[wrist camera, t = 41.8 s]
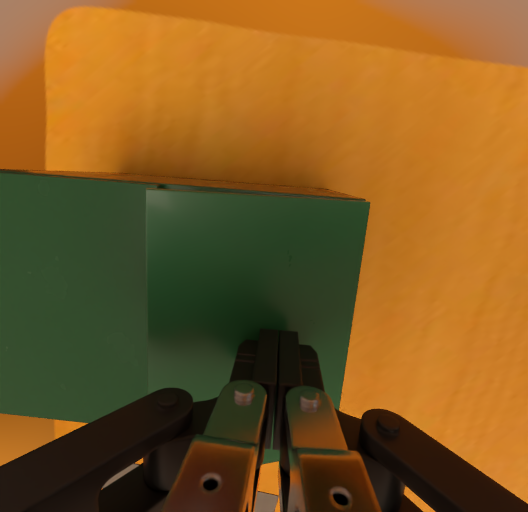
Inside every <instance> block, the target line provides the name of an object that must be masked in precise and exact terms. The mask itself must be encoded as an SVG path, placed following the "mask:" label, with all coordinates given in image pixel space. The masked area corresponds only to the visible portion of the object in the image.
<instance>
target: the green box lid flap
mask: <svg viewBox="0 0 528 512" xmlns="http://www.w3.org/2000/svg"><path fill="white" fill-rule="evenodd" d="M369 209H370V202H368V201H355V200H339V199H322V198H305V197H289V196H272V195H255V194H239V193H222V192H205V191H189V190H172V189H155V188H146V189H145V223H146V304H147V386H148V394H150V393H152V392H155V391H157V390H160V389H163V388H180V389H183V390H186V391H187V392H189V393H190V394H191V396H192V398H193V402H198V401H205V400H210V399H213V398H216V397H218V396H219V394H220V392H221V390H222V388H223V387H224V386H225V385H226V384H228V383H229V381H230V377H231V373H232V369H233V366H234V362H235V358H236V355H237V351H238V347H239V345H240V344H241V343H242V342H243V341H245V340H246V339H248V340H259V333H260V328H263V329H274V330H278V341H279V331H280V330H286V331H296V332H298V338H299V344H302V345H311V346H312V348H313V349H314V350H315V351H316V352H317V354H318V359H319V364H320V369H321V375H322V380H323V385H324V390H325V393H326V394H327V395H328V396H329V397H330V398H331V400H332V402H333V405H334V408H336V409H337V410H339V406H340V400H341V393H342V386H343V380H344V373H345V367H346V360H347V353H348V347H349V340H350V334H351V327H352V321H353V314H354V307H355V301H356V294H357V288H358V281H359V274H360V268H361V261H362V255H363V248H364V242H365V235H366V228H367V222H368V215H369ZM273 424H274V416H273ZM279 459H280V450H273V427H272V437H271V448H270V449H265V451H264V460H263V463H262V464H266V463H272V462H277V461H279Z"/></svg>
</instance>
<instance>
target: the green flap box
mask: <svg viewBox="0 0 528 512" xmlns="http://www.w3.org/2000/svg"><path fill="white" fill-rule="evenodd" d="M146 188H155V189H172V190H189V191H205V192H222V193H239V194H255V195H272V196H289V197H305V198H322V199H339V200H355V201H366V200H365V199H362V198H358V197H355V196H351V195H347V194H343V193H339V192H336V191H332V190H328V189H318V188H305V187H292V186H280V185H267V184H254V183H241V182H229V181H216V180H203V179H190V178H177V177H165V176H152V175H139V174H126V173H107V172H74V171H41V170H9V169H0V413H2V414H11V415H20V416H29V417H38V418H47V419H56V420H65V421H74V422H83V423H91V422H93V421H95V420H97V419H99V418H101V417H103V416H105V415H107V414H109V413H111V412H113V411H115V410H117V409H120V408H122V407H124V406H126V405H128V404H130V403H132V402H134V401H136V400H138V399H140V398H142V397H144V396H146V395H148V386H147V304H146V223H145V189H146Z"/></svg>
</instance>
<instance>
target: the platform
mask: <svg viewBox="0 0 528 512" xmlns="http://www.w3.org/2000/svg"><path fill="white" fill-rule="evenodd" d="M137 466H139V465H136V464H132V465H131V466H129V467H127V468H126V469H124V470H123V471H121V472H119V473H118V474H116V475H115V476H113V477H112V478H111V479H109V480H108V481H107V482H106V483H105V485H104V486H103V488H105V487H106V486H108V485H110V484H111V483H113V482H114V481H116V480H117V479H119V478H120V477H122V476H123V475H125V474H127V473H128V472H130V471H131V470H133V469H134V468H136V467H137ZM277 500H278V496H276V495H271V494H267V493H262V492H258V491H257V497H256V503H255V509H254V512H274V511H275V507H276V504H277Z"/></svg>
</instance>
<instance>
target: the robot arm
mask: <svg viewBox="0 0 528 512" xmlns="http://www.w3.org/2000/svg"><path fill="white" fill-rule="evenodd" d="M273 416H274V424H273ZM272 427H273V450H280V459H279V469H278V482H279V497H280V512H423V511H422V510H421V509H420V508H419V507H417V506H416V505H415V504H414V503H413V502H412V501H411V500H410V499H408V498H407V497H406V496H405V495H404V489H405V485H406V486H407V487H408V488H409V489H410V490H412V491H413V492H414V493H415V494H416V495H417V496H418V497H420V498H421V499H422V500H423V501H424V502H425V503H426V504H428V505H429V506H430V507H431V508H432V509H433V510H435V511H436V512H528V504H527V503H526V502H524V501H523V500H521V499H520V498H518V497H517V496H515V495H514V494H513V493H511V492H510V491H508V490H507V489H505V488H504V487H502V486H501V485H500V484H498V483H497V482H495V481H494V480H492V479H491V478H489V477H488V476H487V475H485V474H484V473H482V472H481V471H479V470H478V469H476V468H475V467H474V466H472V465H471V464H469V463H468V462H466V461H465V460H463V459H462V458H461V457H459V456H458V455H456V454H455V453H453V452H452V451H450V450H449V449H448V448H446V447H445V446H443V445H442V444H440V443H439V442H437V441H436V440H435V439H433V438H432V437H430V436H429V435H427V434H426V433H424V432H423V431H422V430H420V429H419V428H417V427H416V426H414V425H413V424H411V423H410V422H409V421H407V420H406V419H404V418H403V417H401V416H400V415H398V414H396V413H394V412H391V411H388V410H384V409H371V410H368V411H366V412H365V413H364V414H363V415H362V419H359V418H356V417H353V416H350V415H347V414H344V413H342V412H340V411H339V410H337V409H336V408H334V405H333V402H332V400H331V398H330V397H329V396H328V395H327V394H326V393H325V390H324V385H323V380H322V375H321V369H320V364H319V359H318V354H317V352H316V351H315V350H314V349H313V348H312V346H311V345H302V344H299V338H298V332H296V331H286V330H280V331H279V341H278V330H274V329H263V328H260V333H259V340H248V339H246V340H245V341H243V342H242V343H241V344H240V345H239V347H238V351H237V355H236V358H235V362H234V366H233V369H232V373H231V377H230V381H229V383H228V384H226V385H225V386H224V387H223V388H222V390H221V392H220V394H219V396H218V397H216V398H213V399H210V400H205V401H198V402H193V398H192V396H191V394H190V393H189V392H187V391H186V390H183V389H180V388H163V389H160V390H157V391H155V392H152V393H150V394H148V395H146V396H144V397H142V398H140V399H138V400H136V401H134V402H132V403H130V404H128V405H126V406H124V407H122V408H120V409H117V410H115V411H113V412H111V413H109V414H107V415H105V416H103V417H101V418H99V419H97V420H95V421H93V422H91V423H89V424H87V425H84V426H82V427H80V428H78V429H76V430H74V431H72V432H70V433H68V434H66V435H64V436H62V437H60V438H58V439H56V440H54V441H52V442H49V443H47V444H45V445H43V446H41V447H39V448H37V449H35V450H33V451H31V452H29V453H27V454H25V455H23V456H21V457H19V458H17V459H14V460H12V461H10V462H8V463H6V464H4V465H2V466H0V512H254V509H255V503H256V497H257V490H258V484H259V478H260V471H261V465H262V463H263V460H264V451H265V449H270V448H271V437H272ZM142 458H143V463H142V464H140V465H139V466H137V467H136V468H134V469H133V470H131V471H130V472H128V473H127V474H125V475H123V476H122V477H120V478H119V479H117V480H116V481H114V482H113V483H111V484H110V485H108V486H106V487H105V488H103V489H102V487H103V486H104V485H105V483H106V482H107V481H108V480H109V479H111V478H112V477H113V476H115V475H116V474H118V473H119V472H121V471H123V470H124V469H126V468H127V467H129V466H131V465H132V464H134V463H135V462H137V461H138V460H140V459H142ZM101 489H102V490H101Z"/></svg>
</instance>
